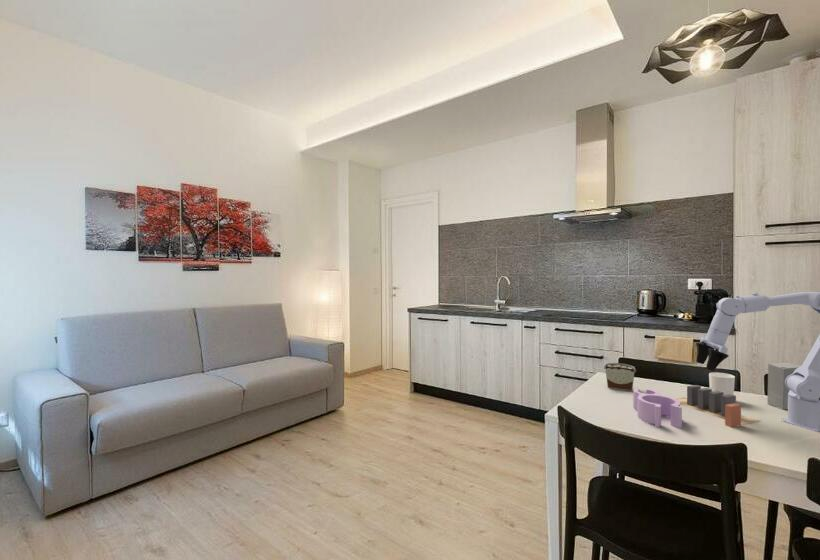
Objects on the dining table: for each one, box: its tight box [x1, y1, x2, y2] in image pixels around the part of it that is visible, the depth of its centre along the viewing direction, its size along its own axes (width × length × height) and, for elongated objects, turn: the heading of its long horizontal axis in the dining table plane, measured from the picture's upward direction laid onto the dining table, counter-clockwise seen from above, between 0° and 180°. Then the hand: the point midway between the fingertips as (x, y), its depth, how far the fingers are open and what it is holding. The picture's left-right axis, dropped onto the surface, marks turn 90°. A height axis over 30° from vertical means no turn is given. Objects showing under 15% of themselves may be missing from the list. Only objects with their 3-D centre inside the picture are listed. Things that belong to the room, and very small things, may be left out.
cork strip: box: [675, 397, 760, 426], centre depth 142 cm, size 26×9×1 cm, turn 19°
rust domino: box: [724, 402, 742, 428], centre depth 129 cm, size 2×5×7 cm, turn 109°
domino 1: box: [686, 384, 702, 406], centre depth 148 cm, size 2×5×7 cm, turn 109°
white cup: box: [708, 372, 736, 395], centre depth 153 cm, size 8×8×10 cm
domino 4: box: [721, 394, 737, 417], centre depth 137 cm, size 2×5×7 cm, turn 108°
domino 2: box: [698, 387, 712, 410], centre depth 144 cm, size 2×5×7 cm, turn 108°
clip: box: [632, 388, 683, 429], centre depth 138 cm, size 20×12×7 cm, turn 172°
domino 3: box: [709, 391, 724, 413], centre depth 140 cm, size 2×5×7 cm, turn 108°
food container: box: [603, 362, 637, 392], centre depth 171 cm, size 12×6×10 cm, turn 58°
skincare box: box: [767, 362, 801, 410], centre depth 145 cm, size 8×7×16 cm
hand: (704, 366), depth 140 cm, fingers open, 7 cm apart
